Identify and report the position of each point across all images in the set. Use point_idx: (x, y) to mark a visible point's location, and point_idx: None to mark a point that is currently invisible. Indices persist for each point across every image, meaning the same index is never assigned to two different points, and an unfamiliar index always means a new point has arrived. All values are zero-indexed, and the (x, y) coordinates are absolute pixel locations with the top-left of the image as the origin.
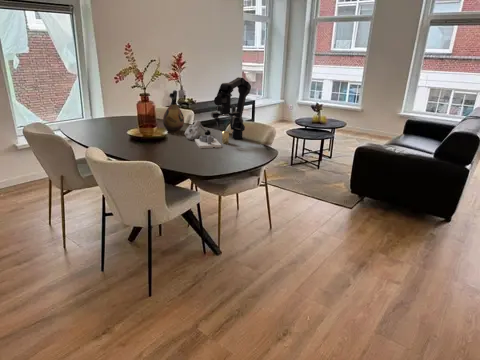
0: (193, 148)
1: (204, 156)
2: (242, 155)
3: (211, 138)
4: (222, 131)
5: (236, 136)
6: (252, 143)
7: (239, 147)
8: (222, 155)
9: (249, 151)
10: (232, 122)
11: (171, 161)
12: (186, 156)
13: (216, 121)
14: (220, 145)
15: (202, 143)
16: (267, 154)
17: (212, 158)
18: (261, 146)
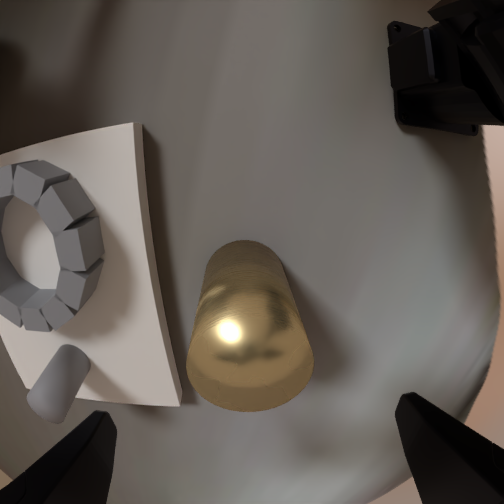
0: (5, 370)
1: None
2: (282, 496)
3: (67, 321)
4: (192, 356)
5: (437, 111)
6: (477, 295)
7: (332, 403)
8: (180, 491)
9: (350, 458)
10: (452, 472)
11: (13, 468)
12: (30, 455)
13: (7, 494)
14: (172, 402)
15: (23, 337)
16: (401, 474)
17: (135, 500)
18: (474, 368)
